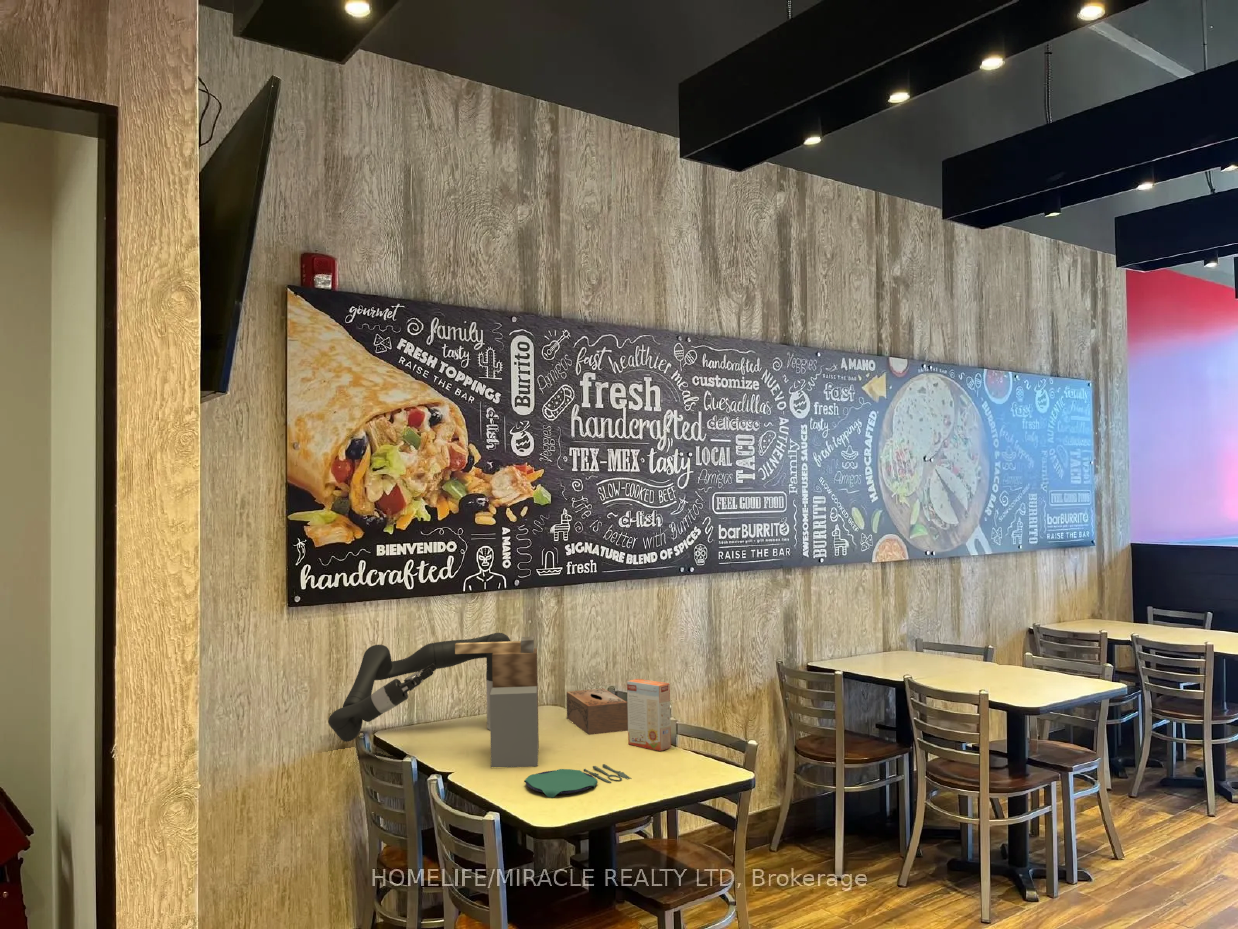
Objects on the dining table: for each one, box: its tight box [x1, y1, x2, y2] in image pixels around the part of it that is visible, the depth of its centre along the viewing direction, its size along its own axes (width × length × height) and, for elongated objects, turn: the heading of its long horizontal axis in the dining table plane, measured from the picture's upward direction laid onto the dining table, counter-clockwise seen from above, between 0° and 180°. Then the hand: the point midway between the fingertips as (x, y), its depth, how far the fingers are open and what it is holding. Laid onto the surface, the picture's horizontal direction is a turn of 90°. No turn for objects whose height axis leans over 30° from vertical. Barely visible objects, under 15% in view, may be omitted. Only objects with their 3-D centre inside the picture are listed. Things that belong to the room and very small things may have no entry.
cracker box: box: [626, 678, 672, 752], centre depth 292 cm, size 14×6×21 cm, turn 47°
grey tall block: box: [489, 686, 539, 768], centre depth 277 cm, size 14×10×22 cm
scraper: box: [455, 635, 535, 654], centre depth 289 cm, size 25×8×4 cm, turn 94°
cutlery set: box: [523, 764, 632, 799], centre depth 256 cm, size 20×30×2 cm, turn 123°
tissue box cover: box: [566, 687, 628, 736], centre depth 323 cm, size 26×14×10 cm, turn 20°
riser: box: [492, 647, 540, 750], centre depth 289 cm, size 14×10×32 cm
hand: (433, 668), depth 288 cm, fingers open, 8 cm apart
